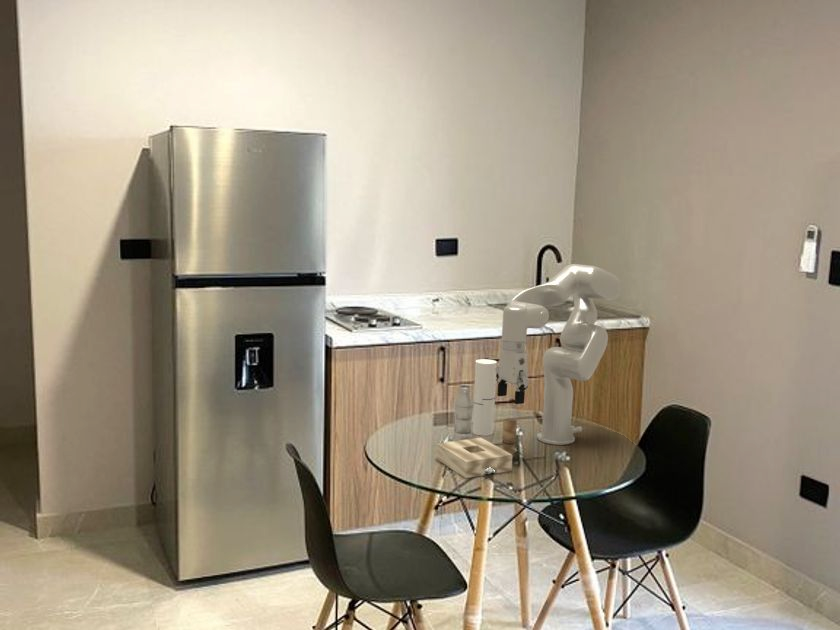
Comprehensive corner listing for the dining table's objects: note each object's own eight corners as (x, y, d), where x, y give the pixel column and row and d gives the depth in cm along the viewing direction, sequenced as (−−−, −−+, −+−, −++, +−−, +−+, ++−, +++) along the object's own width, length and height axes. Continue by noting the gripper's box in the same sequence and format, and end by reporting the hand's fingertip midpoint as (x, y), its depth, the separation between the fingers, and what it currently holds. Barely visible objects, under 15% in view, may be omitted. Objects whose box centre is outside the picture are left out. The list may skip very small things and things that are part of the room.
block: (480, 452, 273) (481, 437, 272) (511, 470, 257) (512, 454, 256) (436, 459, 265) (436, 443, 265) (465, 478, 250) (466, 461, 249)
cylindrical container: (493, 436, 290) (497, 364, 286) (472, 435, 291) (476, 363, 286) (492, 429, 297) (495, 359, 293) (472, 428, 298) (475, 358, 293)
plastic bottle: (456, 449, 275) (458, 389, 271) (449, 443, 281) (452, 384, 278) (475, 448, 277) (477, 388, 273) (468, 442, 283) (470, 383, 280)
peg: (510, 454, 272) (512, 417, 270) (517, 458, 269) (519, 421, 267) (498, 455, 270) (500, 419, 268) (506, 460, 267) (508, 423, 265)
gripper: (539, 350, 257) (536, 405, 260) (508, 339, 273) (505, 392, 275) (519, 352, 254) (515, 407, 257) (488, 341, 269) (485, 394, 272)
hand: (510, 399), depth 266 cm, fingers open, 9 cm apart
